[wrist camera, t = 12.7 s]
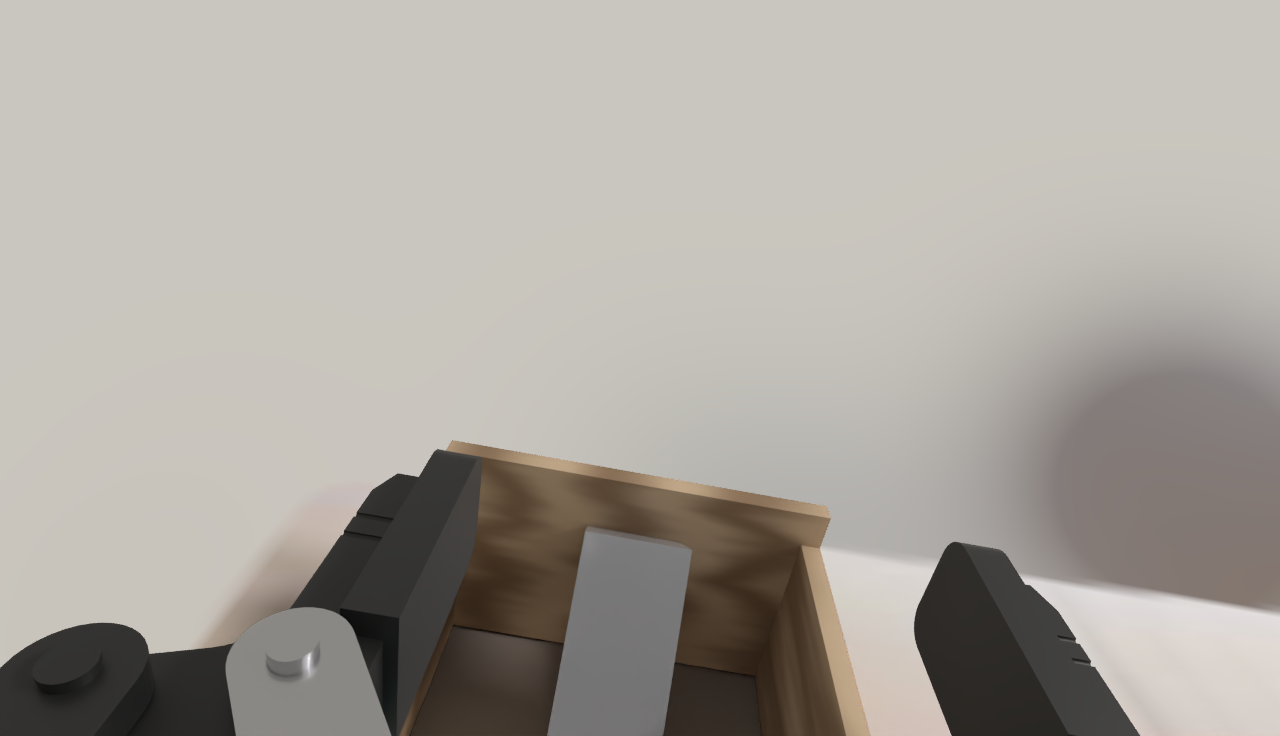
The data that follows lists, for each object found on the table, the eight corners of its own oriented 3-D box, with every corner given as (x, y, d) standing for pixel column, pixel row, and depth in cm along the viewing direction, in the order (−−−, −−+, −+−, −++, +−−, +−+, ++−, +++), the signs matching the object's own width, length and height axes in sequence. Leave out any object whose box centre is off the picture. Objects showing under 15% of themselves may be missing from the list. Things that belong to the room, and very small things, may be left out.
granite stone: (692, 549, 31) (651, 809, 29) (680, 542, 36) (644, 764, 34) (585, 530, 31) (537, 790, 29) (587, 525, 36) (546, 747, 34)
